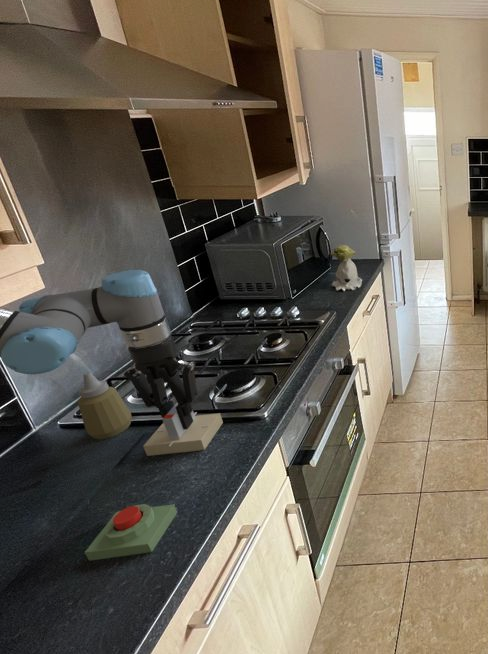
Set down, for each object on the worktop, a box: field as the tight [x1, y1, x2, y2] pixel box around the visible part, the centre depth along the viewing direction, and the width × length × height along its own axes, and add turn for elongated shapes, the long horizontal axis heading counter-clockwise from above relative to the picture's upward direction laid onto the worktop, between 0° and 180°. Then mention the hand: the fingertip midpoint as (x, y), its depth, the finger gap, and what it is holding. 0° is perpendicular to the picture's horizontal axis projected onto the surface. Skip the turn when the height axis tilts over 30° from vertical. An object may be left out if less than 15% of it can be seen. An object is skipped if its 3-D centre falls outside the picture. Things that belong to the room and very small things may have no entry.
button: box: [113, 505, 142, 531], centre depth 76 cm, size 4×4×2 cm
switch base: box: [143, 411, 224, 457], centre depth 99 cm, size 12×11×3 cm
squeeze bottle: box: [77, 371, 132, 440], centre depth 97 cm, size 8×8×18 cm
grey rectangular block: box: [162, 402, 196, 440], centre depth 97 cm, size 7×2×6 cm, turn 10°
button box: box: [84, 503, 178, 562], centre depth 77 cm, size 10×8×4 cm
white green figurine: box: [330, 244, 363, 292], centre depth 180 cm, size 12×13×18 cm
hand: (182, 425), depth 98 cm, fingers closed on grey rectangular block, 2 cm apart
